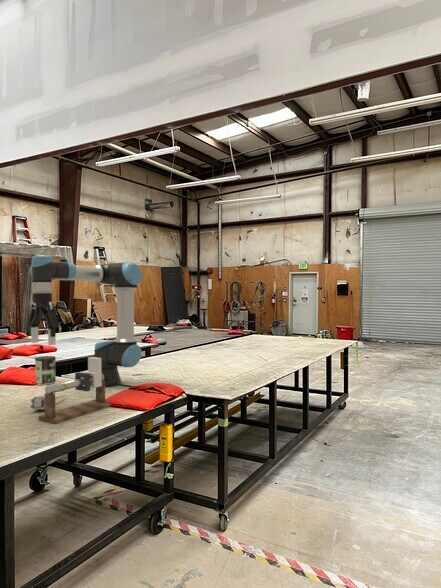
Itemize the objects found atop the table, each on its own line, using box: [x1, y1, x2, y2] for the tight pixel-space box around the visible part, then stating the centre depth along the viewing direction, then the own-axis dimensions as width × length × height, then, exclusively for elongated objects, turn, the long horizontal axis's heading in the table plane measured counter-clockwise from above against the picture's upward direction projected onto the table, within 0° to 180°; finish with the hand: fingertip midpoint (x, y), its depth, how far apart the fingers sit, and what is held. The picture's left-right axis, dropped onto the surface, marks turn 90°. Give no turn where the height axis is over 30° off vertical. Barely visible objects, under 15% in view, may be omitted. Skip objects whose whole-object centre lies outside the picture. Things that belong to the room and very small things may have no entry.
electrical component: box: [30, 394, 68, 410], centre depth 176 cm, size 24×6×5 cm, turn 178°
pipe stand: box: [38, 380, 112, 425], centre depth 164 cm, size 28×10×10 cm, turn 149°
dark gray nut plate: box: [74, 371, 91, 393], centre depth 167 cm, size 2×7×7 cm, turn 59°
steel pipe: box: [44, 374, 104, 394], centre depth 164 cm, size 27×3×3 cm, turn 149°
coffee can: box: [34, 355, 57, 386], centre depth 219 cm, size 10×10×14 cm
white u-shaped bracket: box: [83, 356, 102, 389], centre depth 172 cm, size 4×6×12 cm, turn 59°
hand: (43, 343), depth 167 cm, fingers open, 13 cm apart
